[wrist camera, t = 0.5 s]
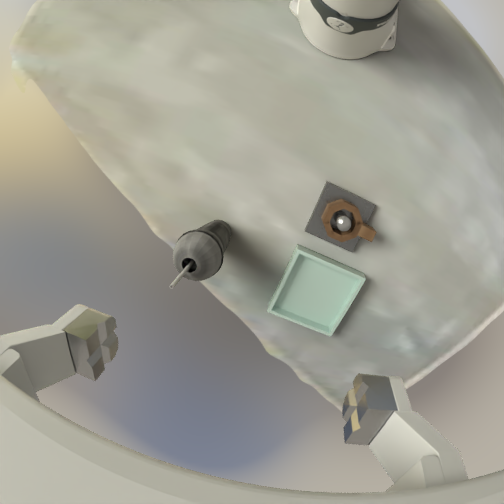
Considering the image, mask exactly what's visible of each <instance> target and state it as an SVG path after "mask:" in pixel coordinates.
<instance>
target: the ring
mask: <svg viewBox="0 0 504 504" xmlns="http://www.w3.org/2000/svg"><path fill="white" fill-rule="evenodd" d="M342 209H345V210H347V211H350V212H351V213H352V216H353V220H352V222H351V227H350V229H349V230H348V231H339V230H337V229H335V228H333V227H331V225H330V220H331V218H332V216H333V214H334V212H337V211H339V210H342ZM321 218H322V221H323V224H324V227H325V229H326V232H327V235H328V236H329V237H331V238H333V239H335V240H338V241H340V242H345V241H347V240H350V239H353V238H356V237H357V235H358V236H360V237H362V238H364V239H366V240H368V241H370V242H372V240H373V238H374V236H375V234H376V231H375V230H374V229H373V227H371V226H369V225H367V224H365V223H363V221H362V218H361V215H360V212H359V209H358V208H357V207H356V206H355V205H354V204H352V203H350V202H348V201H346V200H343V199H339V200H336V201H334V202H331V203H328V204H327V206H326V208H325V210H324V213H323V215H322V217H321Z"/></svg>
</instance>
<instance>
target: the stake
mask: <svg viewBox="0 0 504 504" xmlns="http://www.w3.org/2000/svg"><path fill="white" fill-rule="evenodd" d="M339 199H343V200H346V201H348V202H350V203H352V204H354V205H355V206H356V207H357V208H358V209H359V212H360V215H361V218H362V221H363V223H365V224H367V222H368V220H369V218H370V216H371V214H372V212H373V210H374V208H375V204H373V203H371V202H369V201H367V200H365V199H363V198H361V197H359V196H357V195H355V194H353V193H351V192H349V191H347V190H344V189H342V188H340V187H338V186H336V185H334V184H332V183H329V182H326V184H325V186H324V189H323V191H322V193H321V195H320V197H319V200H318V202H317V204H316V206H315V209H314V211H313V213H312V215H311V217H310V220H309V222H308V224H307V226H306V228H305V231H306V232H308V233H310V234H313V235H315V236H317V237H319V238H322V239H324V240H326V241H328V242H331V243H333V244H335V245H337V246H340V247H342V248H344V249H346V250H348V251H351V252H353V250H354V248H355V246H356V244H357V242H358V240H359V238H360V236H358V235H357V237H356V238H353V239H350V240H347V241H345V242H340V241H338V240H335V239H333V238H331V237H329V236H328V235H327V232H326V229H325V227H324V224H323V221H322V218H321V217H322V215H323V213H324V210H325V208H326V206H327V204H328V203H331V202H334V201H336V200H339ZM352 220H353V216H352V213H351V212H350V211H347V210H345V209H342V210H339V211H337V212H334V214H333V216H332V218H331V220H330V225H331V227H333V228H335V229H337V230H339V231H348V230H349V229H350V227H351V222H352Z"/></svg>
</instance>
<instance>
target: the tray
mask: <svg viewBox="0 0 504 504" xmlns="http://www.w3.org/2000/svg"><path fill="white" fill-rule="evenodd" d="M365 280H366V278H365V276H364V273H362V272H360V271H358V270H355V269H353V268H351V267H349V266H346V265H344V264H342V263H340V262H337V261H335V260H333V259H330V258H328V257H326V256H324V255H321V254H319V253H317V252H314V251H312V250H310V249H307V248H305V247H303V246H301V245H298V244H297V246H296V248H295V251H294V253H293V255H292V257H291V259H290V261H289V263H288V265H287V267H286V270H285V272H284V274H283V276H282V278H281V280H280V282H279V284H278V286H277V288H276V290H275V292H274V294H273V296H272V299H271V301H270V303H269V305H268V309H267V312H269V313H271V314H274V315H276V316H279V317H281V318H284V319H286V320H289V321H291V322H294V323H297V324H299V325H302V326H304V327H307V328H310V329H312V330H315V331H317V332H320V333H323V334H325V335H328V336H332V334H333V332H334V331H335V329H336V328H337V326H338V325H339V323H340V321H341V320H342V318H343V317H344V315H345V313H346V312H347V310H348V309H349V307H350V305H351V304H352V302H353V300H354V299H355V297H356V295H357V294H358V292H359V290H360V288H361V287H362V285H363V283H364V282H365Z"/></svg>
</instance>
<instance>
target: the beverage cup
mask: <svg viewBox="0 0 504 504" xmlns="http://www.w3.org/2000/svg"><path fill="white" fill-rule="evenodd" d="M230 237H231V229H230V227H229V225H228V224H227V223H226V222H224V221H222V220H214V221H212V222H210V223H208V224H206V225H204V226H202V227H200V228H199V229H197V230H193V231H188V232H187V233H185V234H183V235H182V236H181V237H180V238H179V239H178V241H177V243H176V246H175V248H174V250H173V261H174V265H175V267H176V269H177V271H178V272H179V273H180V274H179V275H178V277H177V278H176V279H175V280H174V281H173V283H172V284H171V285H170V288H174V287H175V285H176V284H177V283H178V282H179V281H180V279H181V278H182V277H185V278H187V279H190V280H194V281H201V280H205V279H207V278H210V277H211V276H213V275H214V274H215V273H217V272H218V271H219V269H220V268H221V266H222V264H223V254H224V252H225V250H226V248H227V245H228V243H229V241H230Z"/></svg>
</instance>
